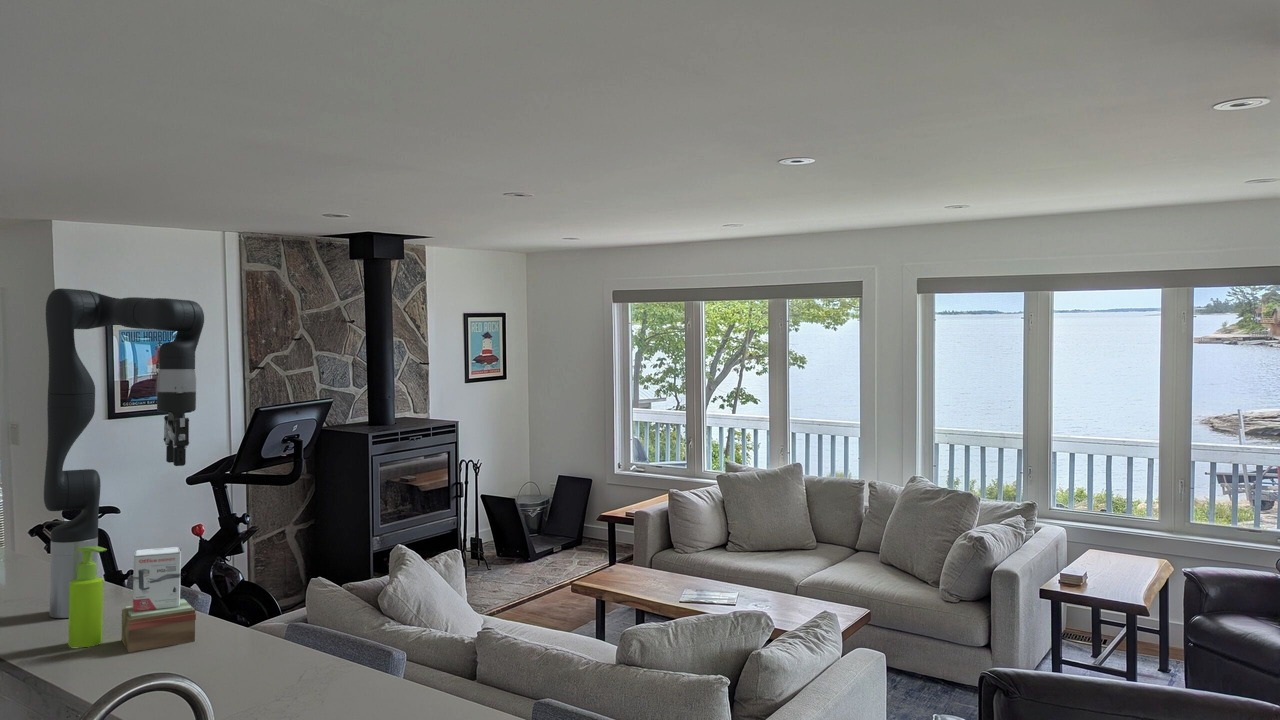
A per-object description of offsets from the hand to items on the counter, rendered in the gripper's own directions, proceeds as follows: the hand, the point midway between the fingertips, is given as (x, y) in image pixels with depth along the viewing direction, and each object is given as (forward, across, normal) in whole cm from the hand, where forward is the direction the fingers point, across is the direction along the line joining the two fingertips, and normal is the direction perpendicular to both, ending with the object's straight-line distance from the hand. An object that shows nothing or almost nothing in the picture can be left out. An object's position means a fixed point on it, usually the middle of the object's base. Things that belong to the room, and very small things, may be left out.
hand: (175, 464), depth 188 cm
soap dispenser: (+36, +1, -16) cm, 40 cm away
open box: (+36, +7, -4) cm, 37 cm away
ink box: (+29, +7, -4) cm, 30 cm away
